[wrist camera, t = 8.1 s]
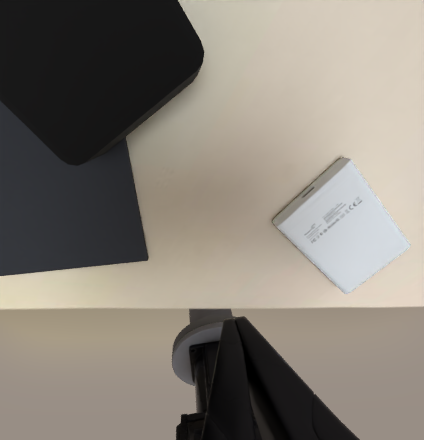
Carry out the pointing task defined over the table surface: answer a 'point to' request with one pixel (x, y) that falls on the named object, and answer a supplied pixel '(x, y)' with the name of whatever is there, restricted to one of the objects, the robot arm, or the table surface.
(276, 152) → the table surface
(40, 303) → the table surface
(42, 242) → the mat
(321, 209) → the hard drive
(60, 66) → the electronic device
